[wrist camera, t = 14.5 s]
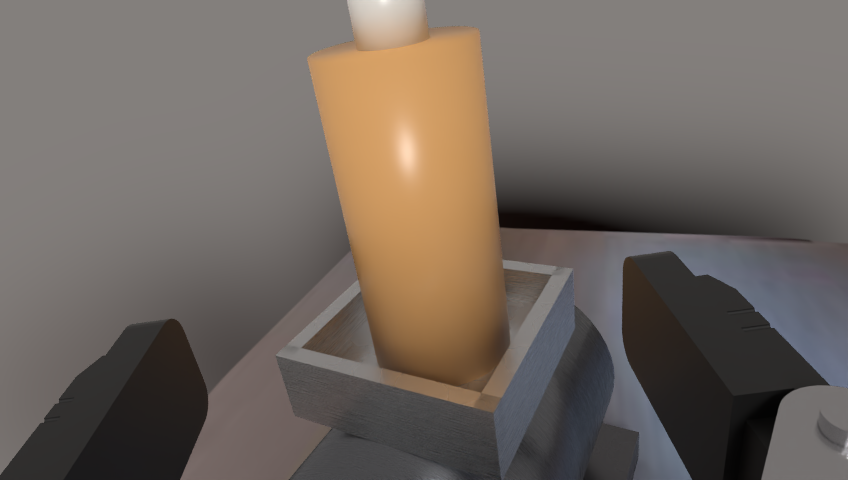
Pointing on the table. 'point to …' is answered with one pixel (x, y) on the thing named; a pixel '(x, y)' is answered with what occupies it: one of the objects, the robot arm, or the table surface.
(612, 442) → the motor
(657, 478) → the table surface
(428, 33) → the orange capped bottle
